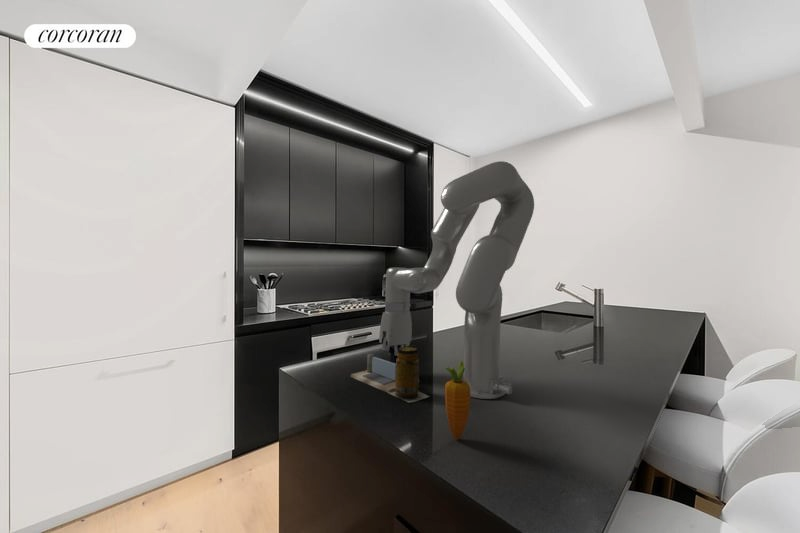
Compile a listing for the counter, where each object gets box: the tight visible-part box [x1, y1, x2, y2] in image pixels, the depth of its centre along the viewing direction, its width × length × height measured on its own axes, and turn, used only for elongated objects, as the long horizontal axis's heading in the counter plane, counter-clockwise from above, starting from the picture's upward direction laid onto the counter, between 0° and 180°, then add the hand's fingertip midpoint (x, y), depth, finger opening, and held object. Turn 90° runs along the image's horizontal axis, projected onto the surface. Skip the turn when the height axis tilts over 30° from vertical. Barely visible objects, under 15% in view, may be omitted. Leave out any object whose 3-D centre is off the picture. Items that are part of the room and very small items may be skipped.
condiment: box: [387, 346, 431, 404], centre depth 87 cm, size 7×8×12 cm
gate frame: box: [350, 353, 420, 394], centre depth 99 cm, size 17×12×6 cm
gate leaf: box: [372, 356, 396, 380], centre depth 99 cm, size 10×1×4 cm, turn 44°
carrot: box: [444, 360, 471, 441], centre depth 65 cm, size 5×5×15 cm
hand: (395, 366), depth 103 cm, fingers closed
